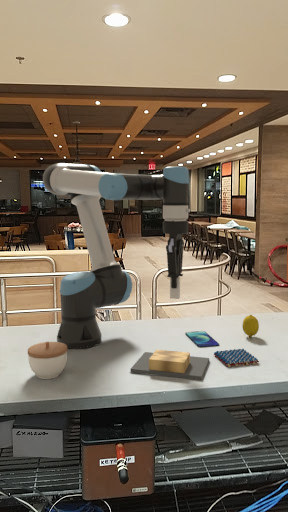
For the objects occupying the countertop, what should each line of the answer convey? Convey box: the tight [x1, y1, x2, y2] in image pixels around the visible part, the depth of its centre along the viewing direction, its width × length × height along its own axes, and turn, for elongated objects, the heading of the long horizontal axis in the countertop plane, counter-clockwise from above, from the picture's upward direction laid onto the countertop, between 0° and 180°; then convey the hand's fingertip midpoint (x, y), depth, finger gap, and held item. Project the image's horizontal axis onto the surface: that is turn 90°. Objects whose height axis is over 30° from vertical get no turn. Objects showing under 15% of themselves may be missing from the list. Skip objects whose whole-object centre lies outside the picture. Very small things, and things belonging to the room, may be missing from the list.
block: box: [149, 349, 191, 373], centre depth 120 cm, size 10×3×8 cm
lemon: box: [241, 314, 260, 338], centre depth 148 cm, size 6×6×8 cm
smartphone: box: [185, 330, 220, 348], centre depth 147 cm, size 8×1×15 cm
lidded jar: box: [27, 341, 68, 380], centre depth 118 cm, size 11×11×9 cm
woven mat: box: [213, 348, 260, 368], centre depth 128 cm, size 10×11×2 cm
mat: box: [130, 351, 210, 381], centre depth 123 cm, size 20×14×1 cm
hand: (174, 297), depth 129 cm, fingers closed
